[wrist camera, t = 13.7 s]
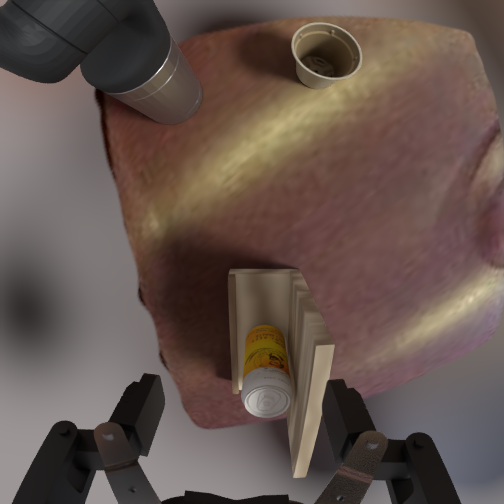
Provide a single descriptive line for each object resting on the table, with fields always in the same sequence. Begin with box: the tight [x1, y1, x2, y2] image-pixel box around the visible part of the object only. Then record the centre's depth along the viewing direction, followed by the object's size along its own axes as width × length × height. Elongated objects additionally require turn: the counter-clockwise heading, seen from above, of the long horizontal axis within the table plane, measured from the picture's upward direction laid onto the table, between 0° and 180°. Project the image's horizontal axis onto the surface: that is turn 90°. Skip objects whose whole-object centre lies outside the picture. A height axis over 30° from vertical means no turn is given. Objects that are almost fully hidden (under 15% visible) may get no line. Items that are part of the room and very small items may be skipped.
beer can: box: [241, 325, 293, 418], centre depth 36 cm, size 6×6×15 cm
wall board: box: [228, 269, 335, 478], centre depth 35 cm, size 11×22×22 cm, turn 0°
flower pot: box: [291, 22, 362, 89], centre depth 32 cm, size 9×9×9 cm
